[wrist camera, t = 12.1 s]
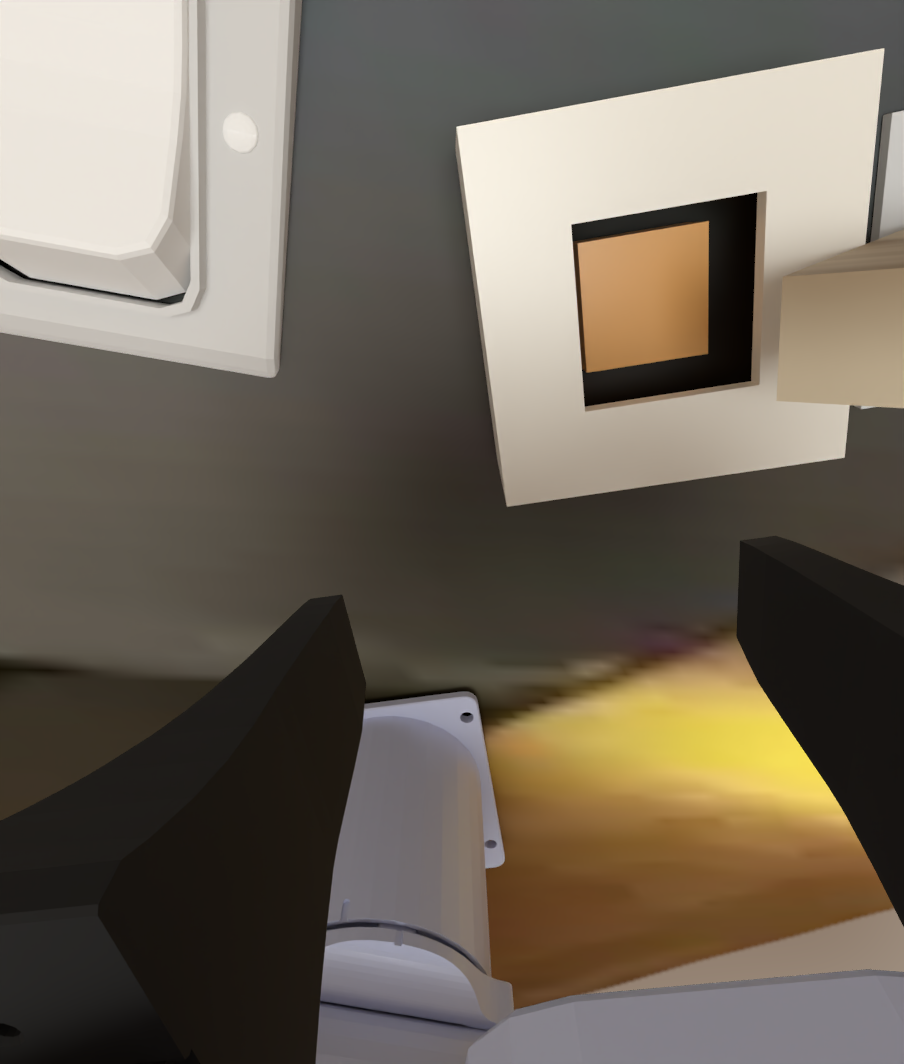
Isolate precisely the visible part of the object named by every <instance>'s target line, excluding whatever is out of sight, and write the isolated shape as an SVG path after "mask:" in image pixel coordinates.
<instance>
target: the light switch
mask: <svg viewBox="0 0 904 1064" xmlns="http://www.w3.org/2000/svg"><path fill="white" fill-rule="evenodd" d="M301 11H302V0H0V259H1V260H2V261H4V262H6V263H7V264H9V265H10V266H12V267H14V268H15V269H17V270H19V271H20V272H22V273H23V274H25V275H27V276H28V277H30V278H35V279H41V280H47V281H52V282H58V283H64V284H69V285H75V286H81V287H86V288H92V289H98V290H103V291H109V292H115V293H120V294H126V295H132V296H137V297H143V298H149V299H154V300H158V299H162V298H165V297H169V296H173V295H177V294H180V293H184V292H186V294H185V296H184V299H183V301H181V302H177V303H173V304H165V303H160V302H154V301H148V300H143V299H137V298H131V297H126V296H120V295H114V294H108V293H103V292H97V291H91V290H86V289H80V288H74V287H69V286H63V285H57V284H52V283H46V282H40V281H35V280H29V279H24V278H22V277H20V276H18V275H17V274H15V273H13V272H11V271H10V270H8V269H6V268H4V267H3V266H1V265H0V332H2V333H8V334H13V335H19V336H25V337H31V338H37V339H43V340H49V341H55V342H61V343H67V344H73V345H78V346H84V347H90V348H96V349H102V350H108V351H114V352H120V353H126V354H132V355H138V356H143V357H149V358H155V359H161V360H167V361H173V362H179V363H185V364H191V365H197V366H203V367H208V368H214V369H220V370H226V371H232V372H238V373H244V374H250V375H256V376H262V377H268V378H270V377H275V376H276V374H277V373H278V371H279V367H280V351H281V335H282V319H283V302H284V286H285V270H286V254H287V238H288V221H289V205H290V189H291V173H292V156H293V140H294V124H295V108H296V92H297V75H298V59H299V43H300V27H301Z"/></svg>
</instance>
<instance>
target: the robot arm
mask: <svg viewBox="0 0 904 1064" xmlns="http://www.w3.org/2000/svg"><path fill="white" fill-rule="evenodd" d="M737 639H738V641H739V643H740V645H741V647H742V649H743V652H744V654H745V656H746V658H747V660H748V663H749V665H750V667H751V668H752V670H753V672H754V674H755V676H756V678H757V680H758V682H759V684H760V686H761V687H762V689H763V690H764V692H765V693H766V695H767V697H768V698H769V700H770V701H771V703H772V704H773V706H774V707H775V709H776V710H777V712H778V713H779V715H780V716H781V718H782V719H783V721H784V722H785V724H786V725H787V726H788V728H789V729H790V731H791V732H792V734H793V735H794V737H795V738H796V740H797V741H798V743H799V744H800V746H801V747H802V749H803V750H804V751H805V753H806V754H807V756H808V757H809V759H810V760H811V762H812V763H813V765H814V766H815V768H816V769H817V771H818V772H819V774H820V775H821V777H822V778H823V779H824V781H825V782H826V784H827V785H828V787H829V788H830V790H831V792H832V793H833V795H834V797H835V798H836V800H837V801H838V803H839V805H840V806H841V808H842V809H843V811H844V813H845V815H846V816H847V818H848V820H849V822H850V824H851V826H852V828H853V830H854V831H855V833H856V835H857V837H858V839H859V841H860V843H861V844H862V846H863V848H864V850H865V852H866V854H867V856H868V858H869V859H870V861H871V863H872V865H873V867H874V869H875V871H876V873H877V875H878V877H879V879H880V881H881V883H882V885H883V887H884V889H885V891H886V893H887V895H888V897H889V899H890V901H891V903H892V905H893V907H894V909H895V911H896V912H897V914H898V916H899V918H900V920H901V922H902V924H903V926H904V586H903V585H900V584H898V583H895V582H892V581H890V580H887V579H885V578H882V577H880V576H877V575H875V574H872V573H870V572H867V571H865V570H862V569H860V568H857V567H855V566H853V565H850V564H848V563H845V562H843V561H840V560H838V559H836V558H833V557H831V556H828V555H826V554H824V553H821V552H819V551H816V550H814V549H811V548H809V547H806V546H804V545H801V544H798V543H796V542H793V541H790V540H787V539H784V538H781V537H777V536H772V537H765V538H758V539H750V540H743V541H740V560H739V587H738V613H737ZM365 689H366V682H365V678H364V674H363V670H362V667H361V663H360V659H359V655H358V652H357V648H356V644H355V641H354V637H353V633H352V629H351V626H350V622H349V618H348V614H347V611H346V607H345V603H344V599H343V596H342V595H336V596H329V597H321V598H314V599H310V600H308V601H307V602H306V603H305V604H304V605H302V606H301V607H300V608H299V609H298V610H297V611H296V612H295V613H294V614H293V615H292V616H291V617H290V618H289V619H288V620H287V621H286V622H285V623H284V624H283V625H282V626H281V627H279V628H278V629H277V630H276V631H275V632H274V633H273V634H272V635H271V636H270V637H269V638H268V639H267V640H266V641H265V642H264V643H263V644H262V645H261V646H260V647H259V648H258V649H257V650H256V651H255V652H254V653H253V654H252V655H250V656H249V657H248V658H247V659H246V660H245V661H244V662H243V663H242V664H241V665H239V666H238V667H237V668H236V669H235V670H234V671H233V672H231V673H230V674H229V675H228V676H227V677H226V678H225V679H223V680H222V681H221V682H220V683H219V684H218V685H217V686H215V687H214V688H213V689H212V690H211V691H210V692H209V693H207V694H206V695H205V696H204V697H203V698H201V699H200V700H199V701H198V702H196V703H195V704H194V705H192V706H191V707H190V708H189V709H187V710H186V711H185V712H183V713H182V714H181V715H179V716H178V717H177V718H175V719H174V720H172V721H171V722H170V723H168V724H167V725H166V726H164V727H163V728H161V729H160V730H159V731H157V732H156V733H154V734H153V735H151V736H150V737H148V738H147V739H145V740H144V741H142V742H141V743H139V744H137V745H136V746H134V747H133V748H131V749H129V750H128V751H126V752H125V753H123V754H122V755H120V756H118V757H117V758H115V759H114V760H112V761H110V762H109V763H107V764H106V765H104V766H103V767H101V768H99V769H98V770H96V771H94V772H93V773H91V774H89V775H87V776H86V777H84V778H82V779H80V780H78V781H77V782H75V783H73V784H71V785H69V786H68V787H66V788H64V789H62V790H60V791H59V792H57V793H55V794H53V795H51V796H49V797H47V798H45V799H43V800H41V801H39V802H37V803H36V804H34V805H32V806H30V807H28V808H26V809H24V810H22V811H20V812H18V813H16V814H14V815H12V816H10V817H8V818H5V819H3V820H1V821H0V1064H904V972H896V971H881V970H867V969H866V970H855V971H843V972H832V973H820V974H809V975H798V976H787V977H775V978H764V979H754V980H741V981H731V982H719V983H708V984H696V985H685V986H674V987H663V988H652V989H641V990H629V991H617V992H607V993H595V994H583V995H572V996H568V997H564V998H560V999H556V1000H552V1001H548V1002H544V1003H540V1004H536V1005H532V1006H528V1007H524V1008H520V1009H516V1010H515V1011H514V1004H513V992H512V985H511V984H510V983H509V982H505V981H501V980H497V979H495V978H492V977H491V960H490V942H489V923H488V905H487V887H486V869H485V868H494V867H498V866H500V865H502V864H503V863H504V861H505V854H504V848H503V842H502V836H501V830H500V825H499V819H498V813H497V808H496V802H495V796H494V791H493V785H492V779H491V774H490V768H489V762H488V757H487V751H486V745H485V740H484V734H483V728H482V723H481V717H480V711H479V705H478V700H477V698H476V696H475V695H474V694H473V693H471V692H467V691H462V692H454V693H446V694H439V695H431V696H423V697H415V698H407V699H400V700H392V701H384V702H376V703H369V704H365ZM465 712H469V713H471V715H470V716H463V715H462V713H465ZM488 840H492V841H488Z"/></svg>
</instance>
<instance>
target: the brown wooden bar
mask: <svg viewBox="0 0 904 1064" xmlns="http://www.w3.org/2000/svg"><path fill="white" fill-rule="evenodd" d="M776 401H785V402H803V403H820V404H838V405H856V406H874V407H891V408H904V229H903V230H901V231H898V232H895V233H893V234H890V235H888V236H885V237H883V238H880V239H878V240H875V241H872V242H870V243H867V244H865V245H862V246H860V247H857V248H855V249H852V250H849V251H847V252H844V253H842V254H839V255H837V256H834V257H832V258H829V259H826V260H824V261H821V262H819V263H816V264H814V265H811V266H809V267H806V268H803V269H801V270H798V271H796V272H793V273H791V274H788V275H786V276H783V279H782V299H781V319H780V339H779V359H778V379H777V399H776Z"/></svg>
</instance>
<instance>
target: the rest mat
mask: <svg viewBox="0 0 904 1064" xmlns="http://www.w3.org/2000/svg"><path fill="white" fill-rule="evenodd" d="M903 229H904V111H900V112H894V113H890V114H886V115H883V122H882V132H881V142H880V152H879V162H878V172H877V182H876V192H875V202H874V211H873V221H872V231H871V241H870V242H872V241H875V240H878V239H880V238H883V237H885V236H888V235H890V234H893V233H895V232H898V231H901V230H903ZM854 406H855V407H858V408H860V409H865V408H872V407H874V406H856V405H854Z"/></svg>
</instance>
